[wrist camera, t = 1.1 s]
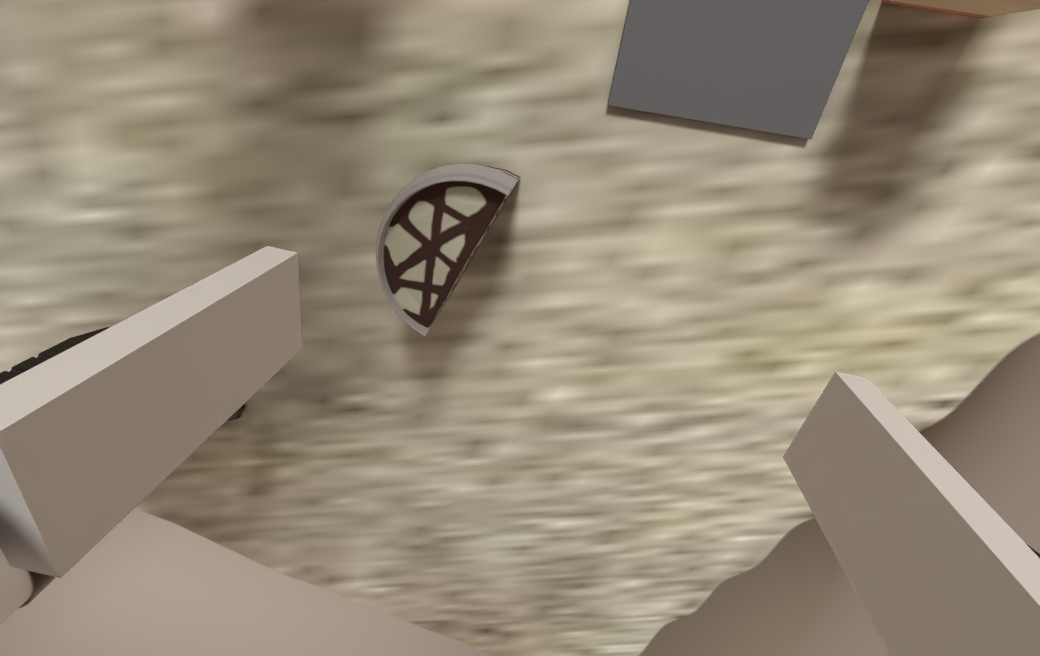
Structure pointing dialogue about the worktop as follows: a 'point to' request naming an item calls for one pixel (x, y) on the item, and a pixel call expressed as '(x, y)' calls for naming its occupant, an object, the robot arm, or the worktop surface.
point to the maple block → (971, 6)
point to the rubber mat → (735, 60)
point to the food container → (436, 236)
